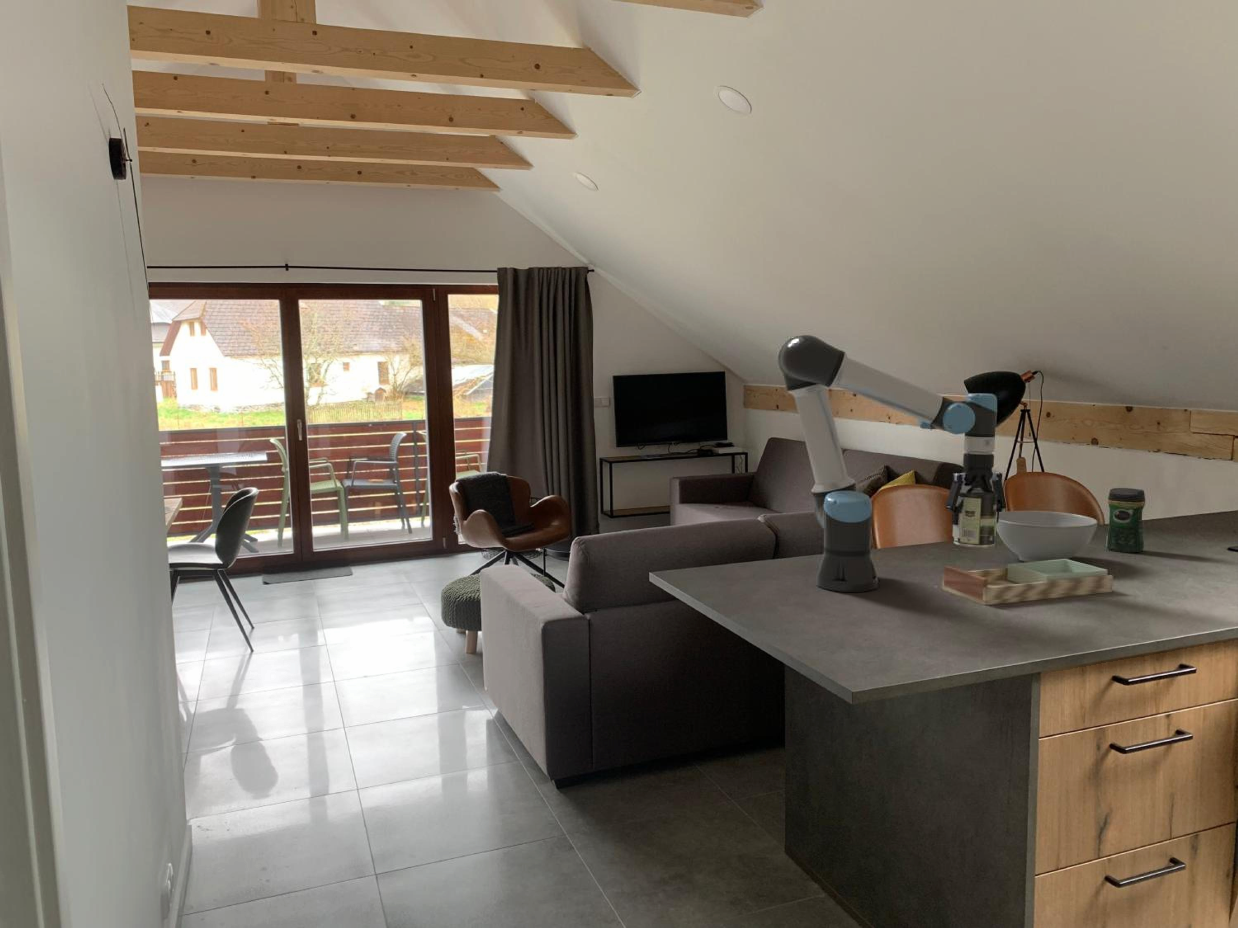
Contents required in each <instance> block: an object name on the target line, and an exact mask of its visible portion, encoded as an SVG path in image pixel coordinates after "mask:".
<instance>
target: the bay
mask: <svg viewBox="0 0 1238 928" xmlns="http://www.w3.org/2000/svg"><path fill="white" fill-rule="evenodd" d="M943 572H944V573H942V574H941V576H942V577H941V578H942V579H941V590H943V591H946V592H949V593H951V594H954V595H956V596H959V597H962V598H964V599H968V600H970V601H973V602H976V603H977V604H978V603H979V604H981V605H984V606H988V605H989V606H990V605H997V604H999V605H1000V604H1007V603H1008V604H1009V603H1018V602H1028V601H1036V600H1038V601H1039V600H1046V599H1055V598H1056V599H1057V598H1064V597H1074V596H1075V597H1076V596H1085V595H1093V594H1095V595H1096V594H1103V593H1112V592H1113V582H1114V581H1113V580H1114V575H1112V574H1107V575H1105V576H1095V577H1085V578H1075V579H1065V580H1054V581H1044V582H1034V583H1024V584H1019V583H1016V582H1013V581H1010V580H1007V574H1008V567H999V568H988V569H978V570H975V569H974V570H962V569H959V568H957V567H953V566H949V565H945V566H944V571H943Z"/></svg>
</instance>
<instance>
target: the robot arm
mask: <svg viewBox="0 0 1238 928" xmlns="http://www.w3.org/2000/svg"><path fill="white" fill-rule="evenodd" d="M777 362H778V363H777V364H778V367H779V369H780V371H781V372H782V376H783V380H784V385H785V388H786V391H787V393H788V394H790V395H792V396H793V397H794V400H795V404H796V409H797V413H798V417H799V420H800V424H801V425H800V426H801V429H802V433H803V437H804V442H805V445H806V449H807V453H808V458H809V461H810V462H809V463H810V467H811V470H812V471H811V472H812V474H813V478H814V482H815V483H814V485H813V487H812V489H811V494H812V498H813V499H812V500H813V503H814V515H815V518H816V521H817V522H818V524H819V525H820V527H822V528H823V556H822V559H821V561H820V565H819V567H818V571H817V573H816V577H815V578H816V582H815V584H816V586H817V587H820V588H821V589H825V590H829V591H835V592H842V593H843V592H845V593H860V592H863V593H864V592H869V591H874V590H875V589H877V588H878V583H879V582H878V576H877V572H876V568H875V566H874V562H873V559H872V556H871V555H872V519H873V518H872V517H873V505H872V499H871V497H870V496H869V495H868V494H865V493H863V492H859V491H858V490H857V485H856V481H855V479H854V478H851V477H850V476H849V475H848V472H847V469H846V464H845V461H844V455H843V451H842V448H841V447H842V446H841V442H840V439H839V435H838V432H837V431H838V429H837V426H836V422H835V418H834V413H833V410H832V405H831V402H830V397H829V394H828V390H827V388H828V389H830V388H833V387H837V388H840V389H843V390H845V391H847V392H850V393H852V394H854V395H857V396H860V397H862V398H865V399H866V400H870V401H872V402H875V403H877V404H878V405H881V406H884V407H887V408H889V409H892V410H894V411H896V412H899V413H901V414H904V415H906V416H908V417H912V418H914V419H916V420H917V424H918V426H919V428H920V429H924V430H930V431H932V430H940V431H943V432H948V433H949V434H952V435H962V434H963V435H964V438H963V441H964V442H963V451H965V452H964V453H963V454H962V455H963V459H962V466H963V471H962V472H961V473H956V472H953V474H952V483H951V486H950V489H949V493H948V496H947V500H946V502H945V506H944V509H945V510H946V511H949V512H950V513H951V518H950V519H951V520H950V522H951V525H952V537H953V538H954V537H957V538H962V521H963V513H960V511H961V509H962V508H963V503H964V497H959V493H960V492H963V493H971V491H973V490H974V489H980V490H983V491H984V492H992V493H993V491H994V492H997V493H998V495H997V505H996V523H995V537H997V529H996V525H997V523H998V522H999V513H1001V512H1003V510H1005V509H1007V503H1006V497H1005V492H1004V491H1005V490H1004V487H1003V473H1002V472H998V471H993V468H994V465H995V463H994V462H995V455H994V454H993V453H994V452H995V445H996V428H997V416H998V414H997V413H998V399H997V396H996V395H995V394H993V393H968V394H967V395H966V398H965V400H960V401H959V400H952V399H950V398H948V397H945V396H942V395H940V394H937V393H936V392H933V391H931V390H928V389H925V388H923V387H921V386H919V385H916V384H913V383H911V382H909V381H906V380H903V379H901V378H899V377H896V376H894V375H891V374H889V373H887V372H884V371H882V370H879V369H877V368H875V367H872V366H869V365H867V364H864V363H862V362H860V361H857V360H854V359H852V358H851V357H848V354H847V352H846V351H843V350H841V349H839V348H836V347H835V346H832V345H830V344H829V343H827V342H825V341H824V340H822V339H820V338H818V337H816V336H814V335H811V334H803V335H797V336H794V337H791V338H789V339H788V340H786V341H785V343H784V344H783V345H782V346H781V348H780V350H779V353H778V359H777ZM960 490H961V491H960Z"/></svg>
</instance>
